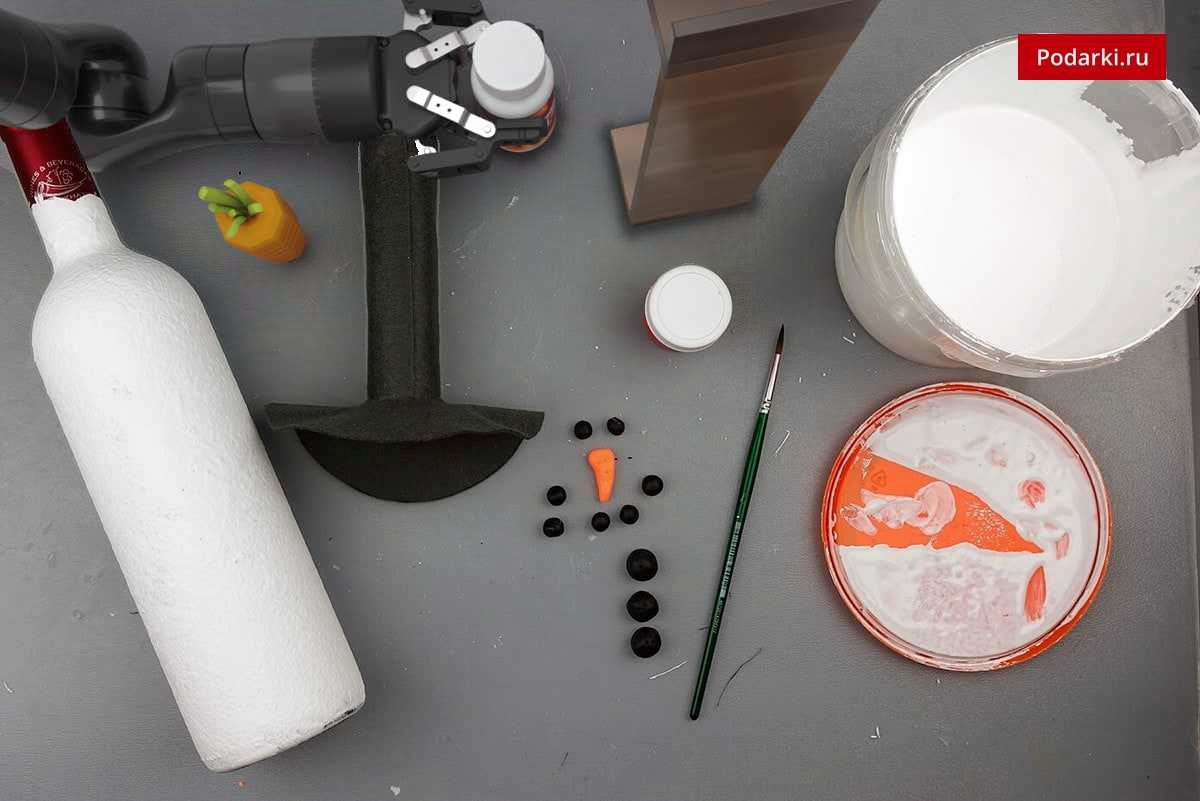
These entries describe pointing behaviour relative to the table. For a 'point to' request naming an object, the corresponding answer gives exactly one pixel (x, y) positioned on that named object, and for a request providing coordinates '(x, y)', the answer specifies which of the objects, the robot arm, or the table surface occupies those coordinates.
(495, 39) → the pill bottle
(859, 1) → the rack
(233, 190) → the carrot
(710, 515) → the table surface
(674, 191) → the stand
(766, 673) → the table surface
